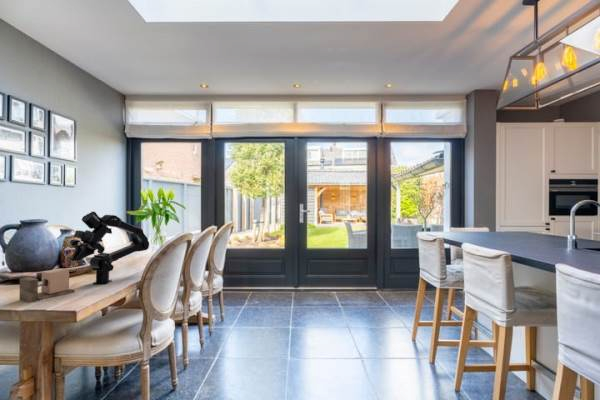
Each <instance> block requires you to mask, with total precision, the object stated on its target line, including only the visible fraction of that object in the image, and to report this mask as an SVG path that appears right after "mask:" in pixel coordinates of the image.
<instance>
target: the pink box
mask: <svg viewBox="0 0 600 400" xmlns="http://www.w3.org/2000/svg"><path fill="white" fill-rule="evenodd" d="M45 280H48V285H44V286H40V287H41V290H40V292H43V293H48V294H52V293H56V292H60V291H65V290H69V289H70V273H69V270H68V269H64V268H56V269H50V270H43V271H41V281H45Z"/></svg>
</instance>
